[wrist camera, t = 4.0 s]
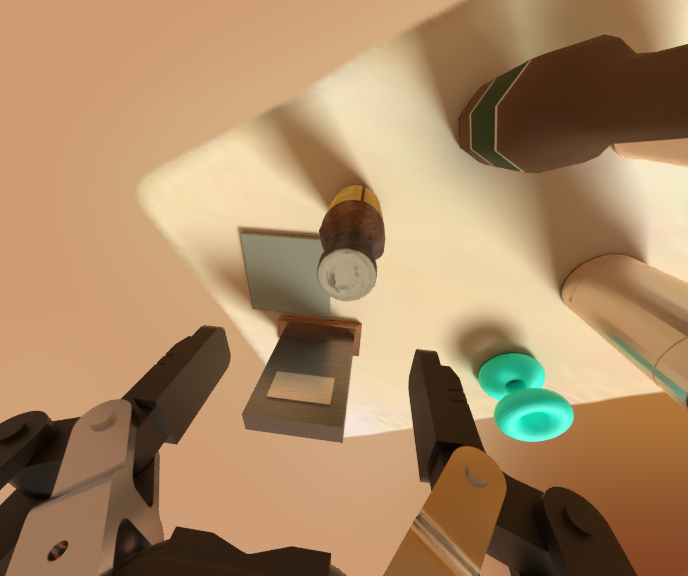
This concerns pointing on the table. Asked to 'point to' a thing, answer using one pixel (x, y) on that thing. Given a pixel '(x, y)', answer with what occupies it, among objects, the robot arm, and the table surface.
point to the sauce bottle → (351, 244)
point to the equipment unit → (306, 380)
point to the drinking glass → (656, 151)
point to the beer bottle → (577, 105)
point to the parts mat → (284, 273)
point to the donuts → (524, 398)
